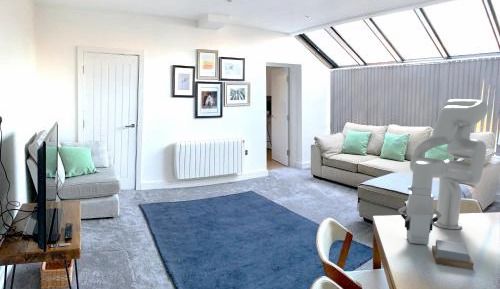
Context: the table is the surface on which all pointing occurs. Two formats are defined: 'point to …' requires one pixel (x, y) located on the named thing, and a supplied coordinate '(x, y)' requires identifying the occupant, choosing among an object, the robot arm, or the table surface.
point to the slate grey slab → (451, 250)
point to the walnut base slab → (452, 261)
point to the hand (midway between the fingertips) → (418, 230)
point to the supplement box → (419, 229)
